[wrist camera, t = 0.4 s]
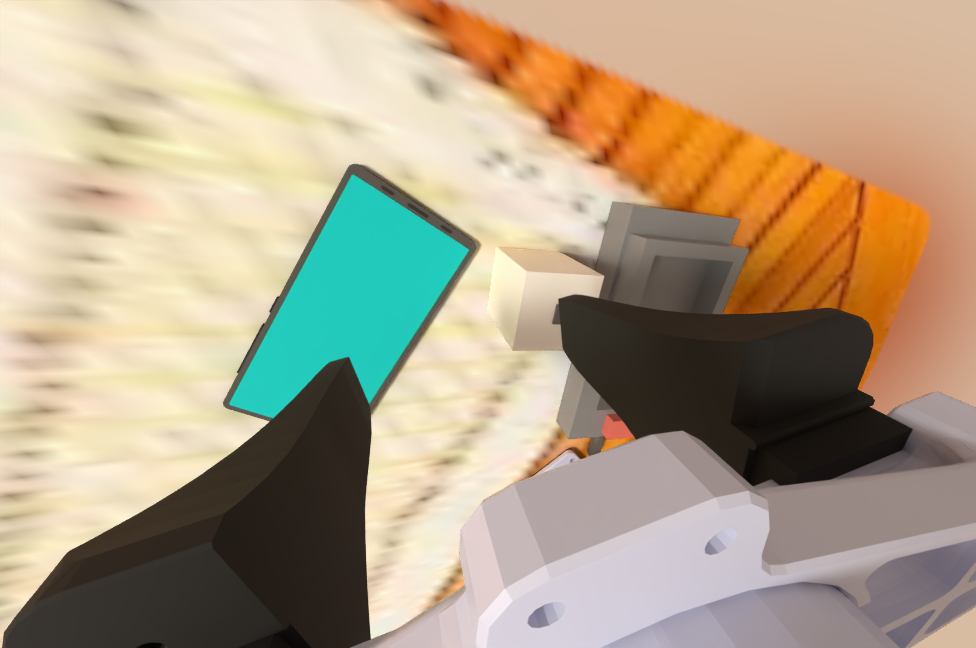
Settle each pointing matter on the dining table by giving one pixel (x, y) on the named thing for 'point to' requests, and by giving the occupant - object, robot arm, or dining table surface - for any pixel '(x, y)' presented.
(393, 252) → the smartphone
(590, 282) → the block
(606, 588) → the robot arm
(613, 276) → the power strip
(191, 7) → the dining table surface
